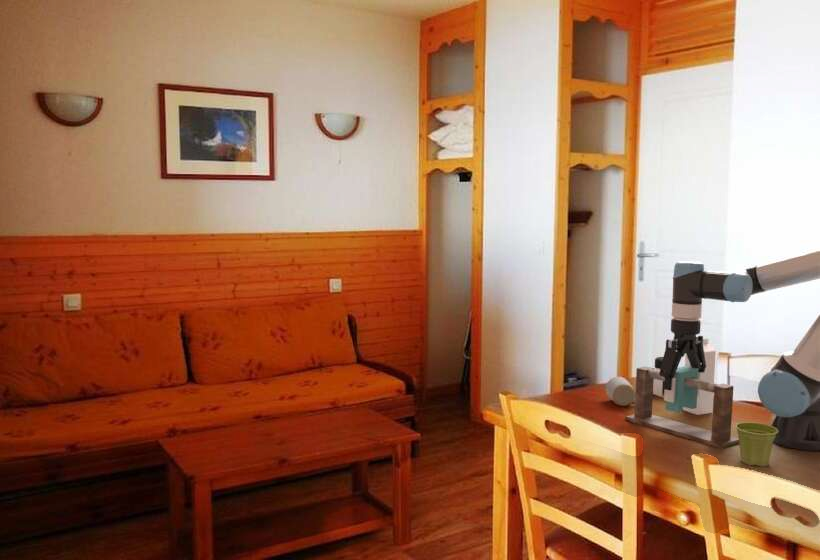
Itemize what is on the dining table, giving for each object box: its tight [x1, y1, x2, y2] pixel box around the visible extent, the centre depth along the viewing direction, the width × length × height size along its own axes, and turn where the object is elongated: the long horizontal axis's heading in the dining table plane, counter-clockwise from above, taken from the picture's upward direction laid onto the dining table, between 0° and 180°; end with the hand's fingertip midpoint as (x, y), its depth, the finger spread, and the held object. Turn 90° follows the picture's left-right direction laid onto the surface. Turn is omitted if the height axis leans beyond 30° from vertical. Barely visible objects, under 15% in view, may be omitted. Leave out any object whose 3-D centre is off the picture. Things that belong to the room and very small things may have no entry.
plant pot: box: [734, 421, 778, 467], centre depth 182 cm, size 9×9×9 cm
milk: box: [683, 338, 717, 416], centre depth 224 cm, size 6×6×22 cm
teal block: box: [665, 365, 699, 414], centre depth 205 cm, size 8×4×11 cm, turn 127°
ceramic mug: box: [605, 376, 636, 407], centre depth 233 cm, size 11×8×8 cm
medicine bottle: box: [653, 356, 665, 398], centre depth 244 cm, size 7×7×12 cm
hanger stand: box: [625, 365, 739, 449], centre depth 205 cm, size 30×8×15 cm, turn 37°
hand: (681, 398), depth 205 cm, fingers open, 11 cm apart
